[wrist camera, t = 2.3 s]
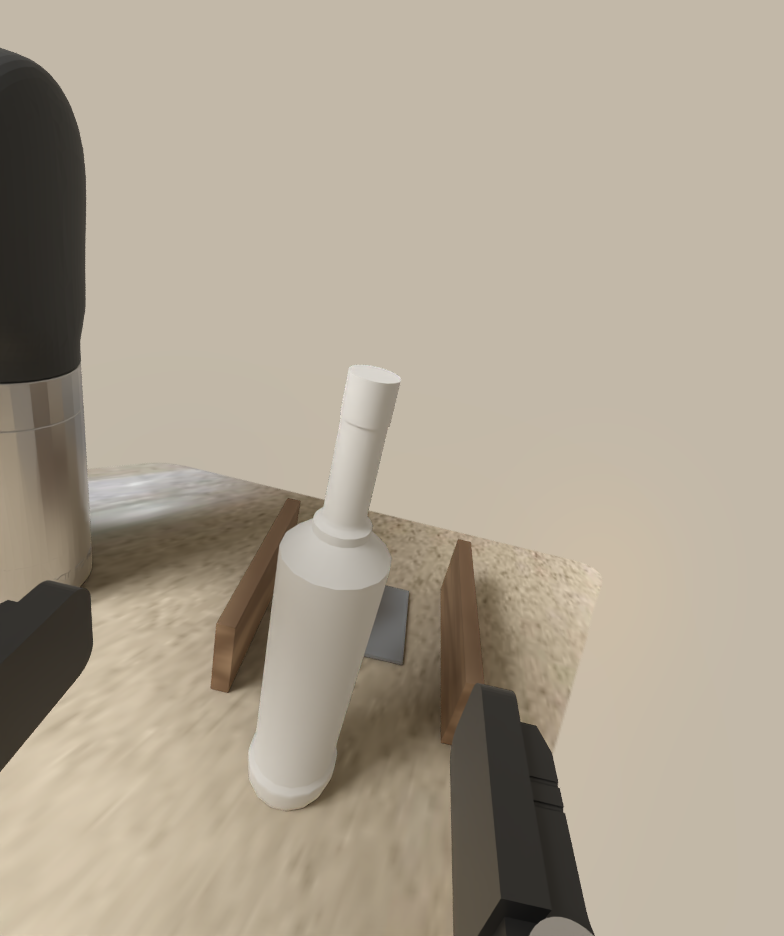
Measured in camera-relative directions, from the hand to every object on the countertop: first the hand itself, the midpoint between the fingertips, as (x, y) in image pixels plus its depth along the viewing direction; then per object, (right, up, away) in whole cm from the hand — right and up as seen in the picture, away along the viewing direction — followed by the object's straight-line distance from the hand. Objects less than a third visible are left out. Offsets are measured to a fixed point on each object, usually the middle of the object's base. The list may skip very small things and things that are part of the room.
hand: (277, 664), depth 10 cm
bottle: (-4, -14, +20) cm, 25 cm away
